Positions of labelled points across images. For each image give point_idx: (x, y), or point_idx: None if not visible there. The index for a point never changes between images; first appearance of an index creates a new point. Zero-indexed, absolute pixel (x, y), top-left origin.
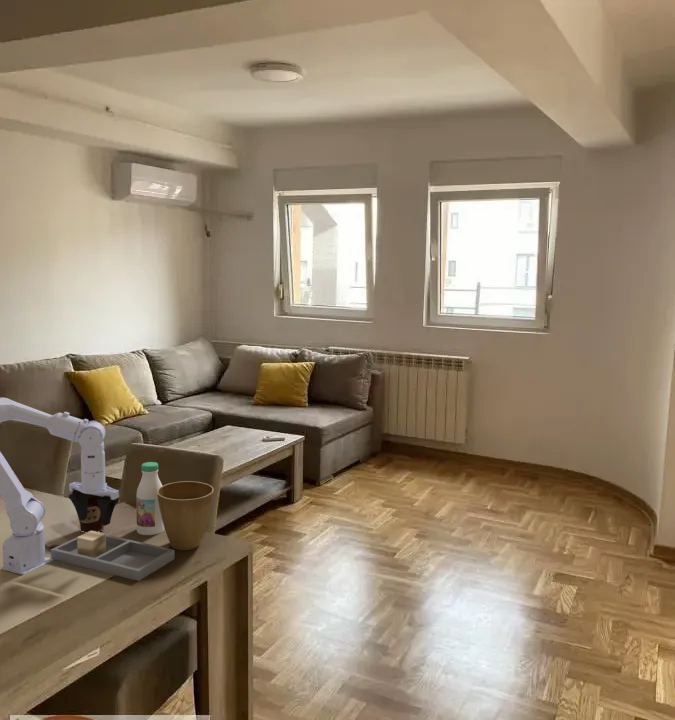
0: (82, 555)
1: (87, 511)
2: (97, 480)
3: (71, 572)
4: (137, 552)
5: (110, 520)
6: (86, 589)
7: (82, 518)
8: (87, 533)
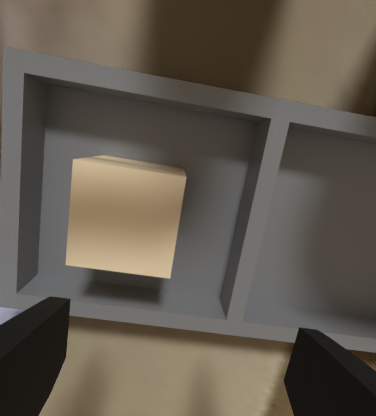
0: (165, 314)
1: (41, 323)
2: None
3: (157, 332)
4: (310, 132)
5: (334, 343)
6: (268, 403)
7: (61, 355)
8: (82, 204)
